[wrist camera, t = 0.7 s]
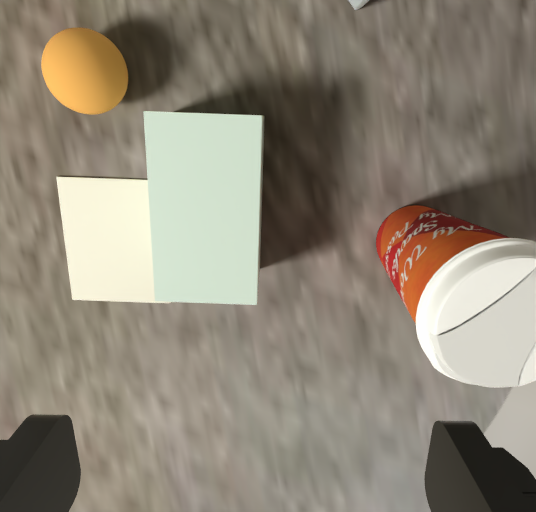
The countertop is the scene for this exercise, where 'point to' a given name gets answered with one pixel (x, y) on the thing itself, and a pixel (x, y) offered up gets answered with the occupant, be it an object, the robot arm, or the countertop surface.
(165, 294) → the mint green rectangular block
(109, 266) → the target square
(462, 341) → the paper cup
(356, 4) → the tea box
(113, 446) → the countertop surface
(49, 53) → the ball
